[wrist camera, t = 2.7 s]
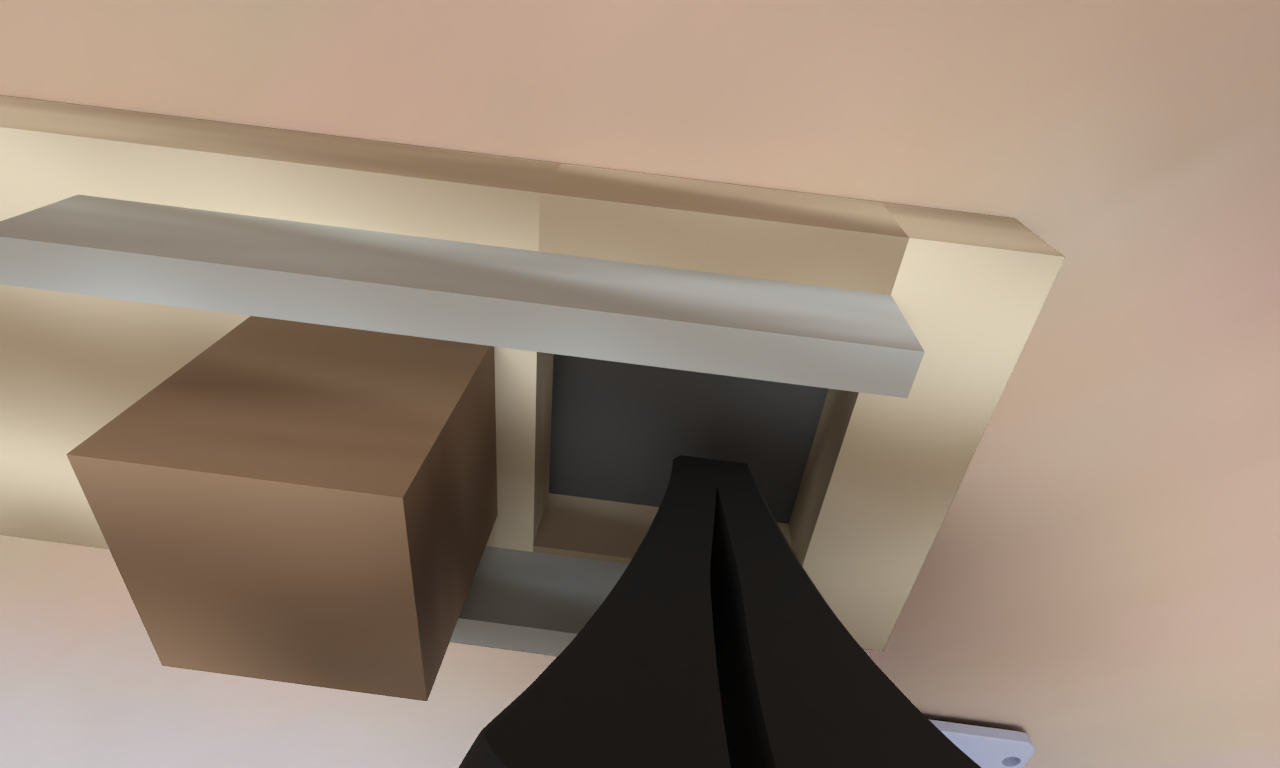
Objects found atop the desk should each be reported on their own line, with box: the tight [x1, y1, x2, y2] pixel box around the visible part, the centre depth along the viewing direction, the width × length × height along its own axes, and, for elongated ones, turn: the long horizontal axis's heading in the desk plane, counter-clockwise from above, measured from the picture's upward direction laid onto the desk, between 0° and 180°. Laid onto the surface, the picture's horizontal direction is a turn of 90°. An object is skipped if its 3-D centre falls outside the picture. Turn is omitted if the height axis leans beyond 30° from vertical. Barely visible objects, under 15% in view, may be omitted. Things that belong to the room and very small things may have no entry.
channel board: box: [0, 95, 1065, 656], centre depth 13 cm, size 10×26×4 cm, turn 84°
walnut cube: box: [66, 316, 498, 701], centre depth 12 cm, size 4×4×4 cm
